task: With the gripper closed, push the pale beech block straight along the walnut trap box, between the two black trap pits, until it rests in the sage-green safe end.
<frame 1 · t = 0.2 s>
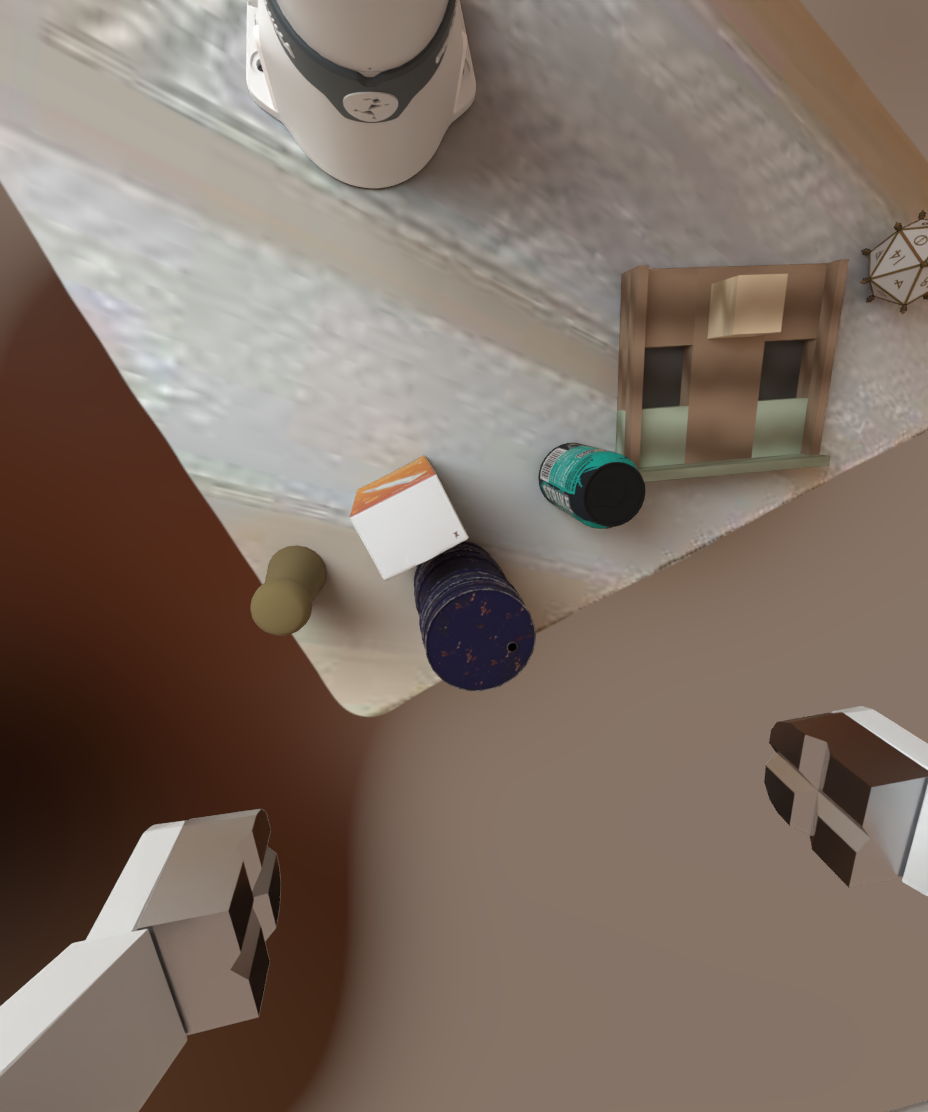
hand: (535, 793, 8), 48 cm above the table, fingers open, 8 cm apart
beverage can: (566, 474, 57), on the table
olive rounded lobed piece: (297, 572, 55), on the table
trap box: (714, 374, 56), on the table
game die: (874, 272, 55), on the table
beech block: (732, 310, 52), point 2 cm above the table, touching trap box
small box: (403, 497, 55), on the table
storage jar: (456, 580, 58), on the table
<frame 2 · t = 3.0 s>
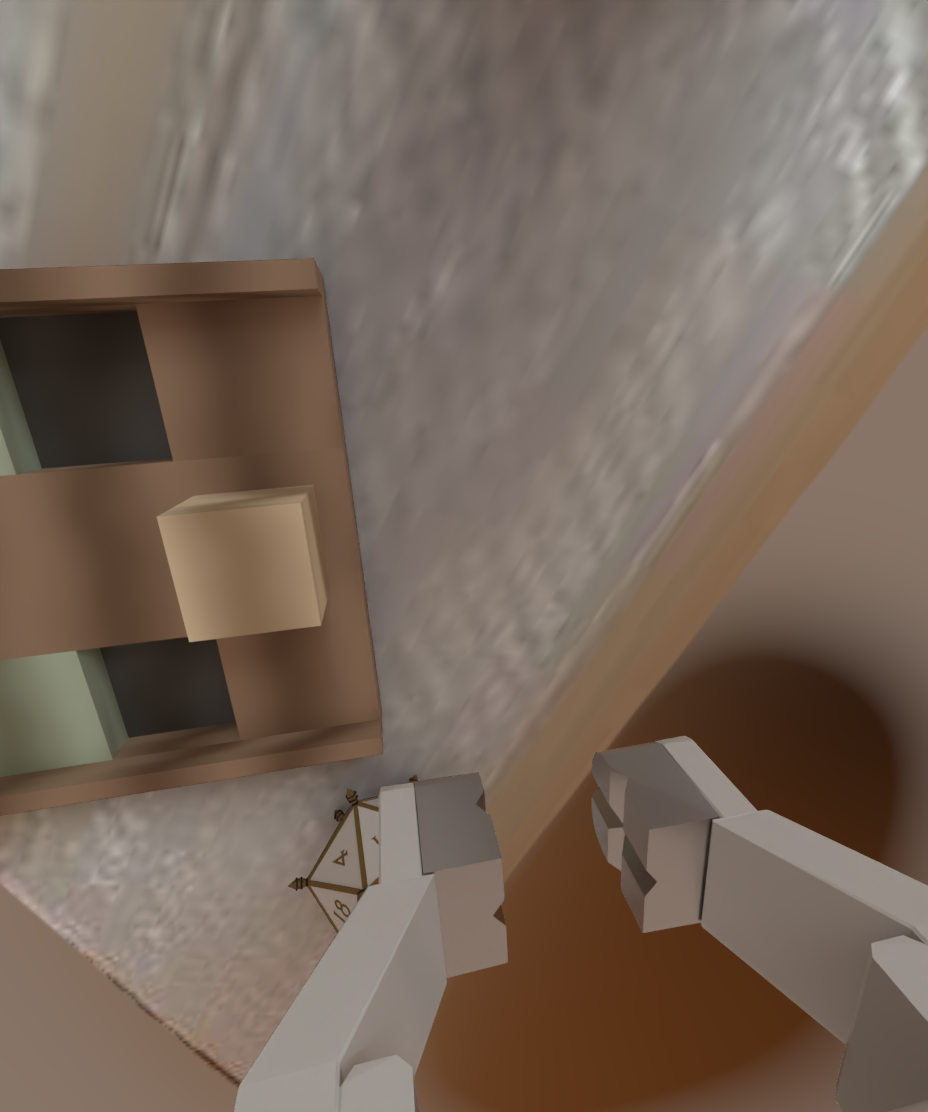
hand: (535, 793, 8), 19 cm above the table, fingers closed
trap box: (142, 546, 24), on the table
game die: (386, 807, 31), on the table
beech block: (265, 544, 23), point 2 cm above the table, touching trap box
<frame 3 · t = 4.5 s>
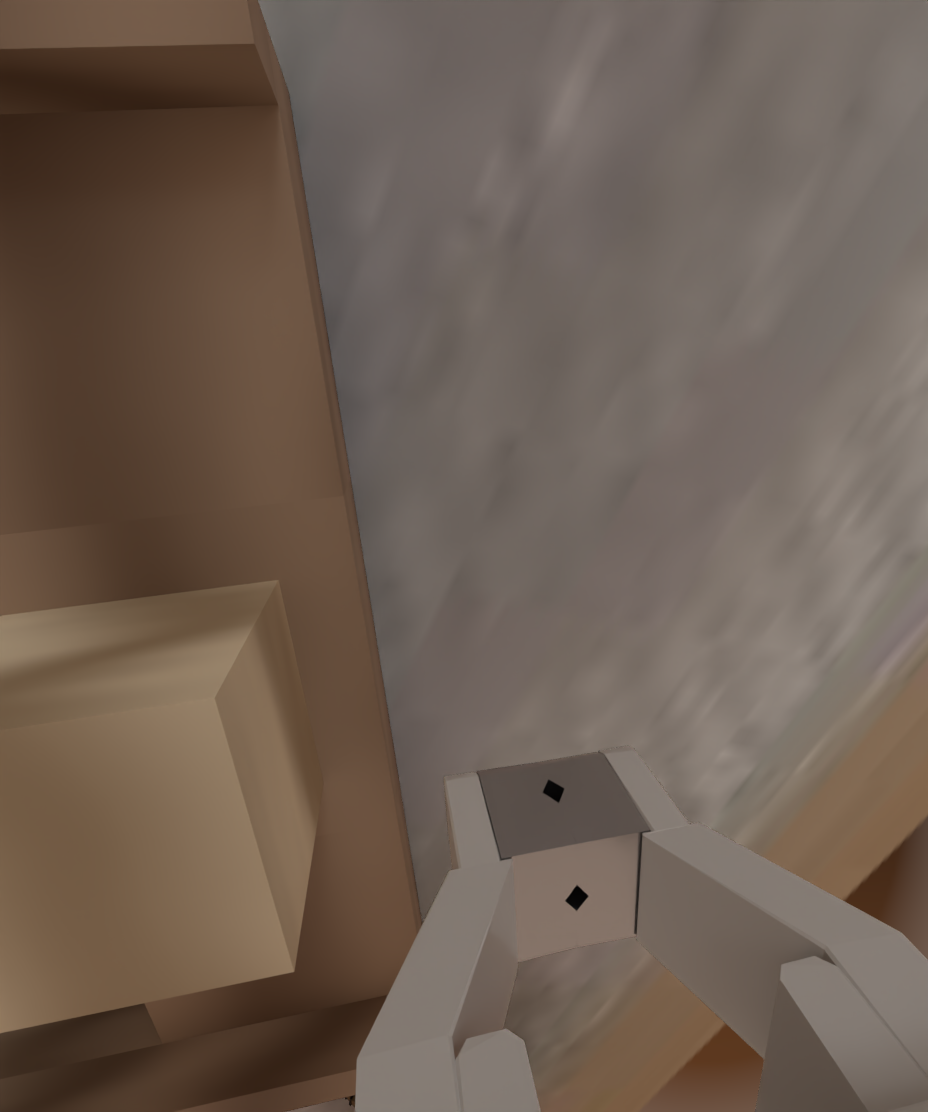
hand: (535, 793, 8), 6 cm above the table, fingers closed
beech block: (179, 707, 11), point 2 cm above the table, touching trap box
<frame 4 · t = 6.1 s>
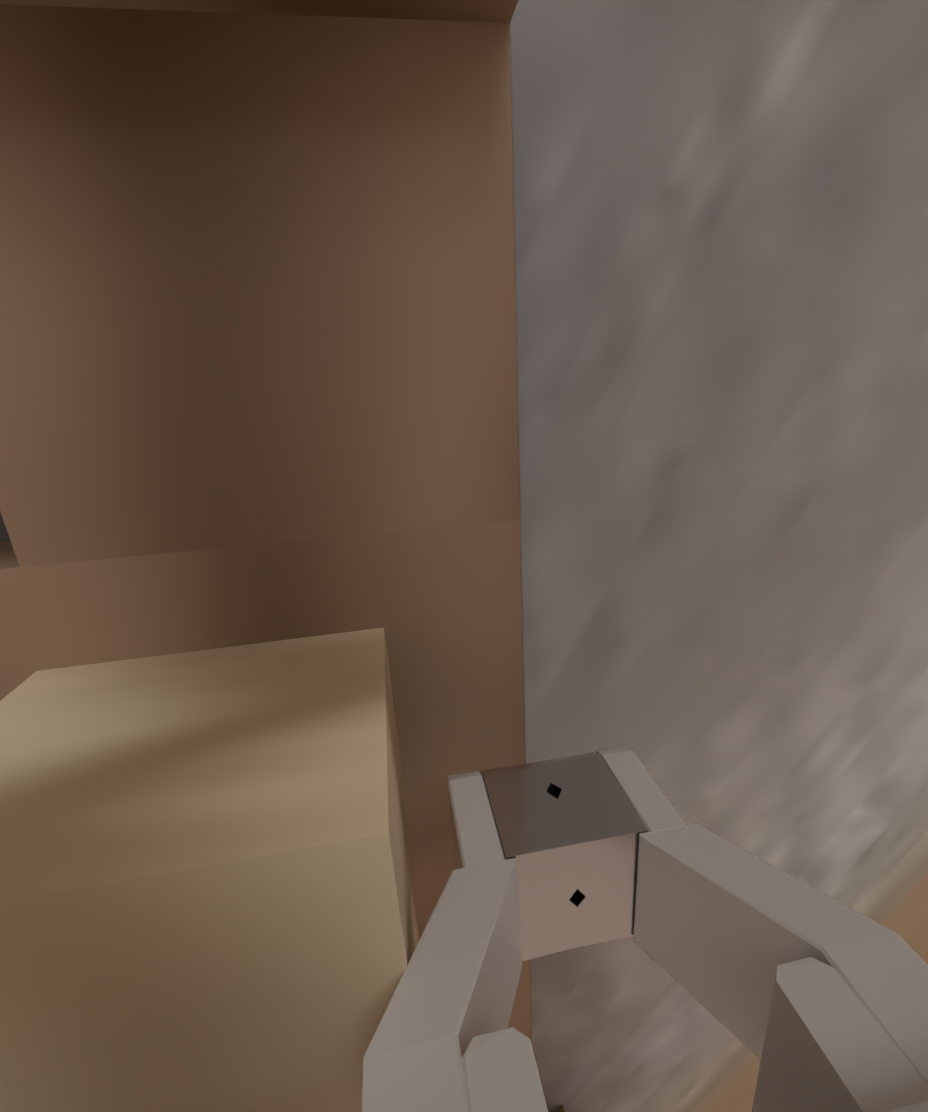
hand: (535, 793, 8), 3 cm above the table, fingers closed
beech block: (249, 781, 9), point 2 cm above the table, touching gripper, trap box
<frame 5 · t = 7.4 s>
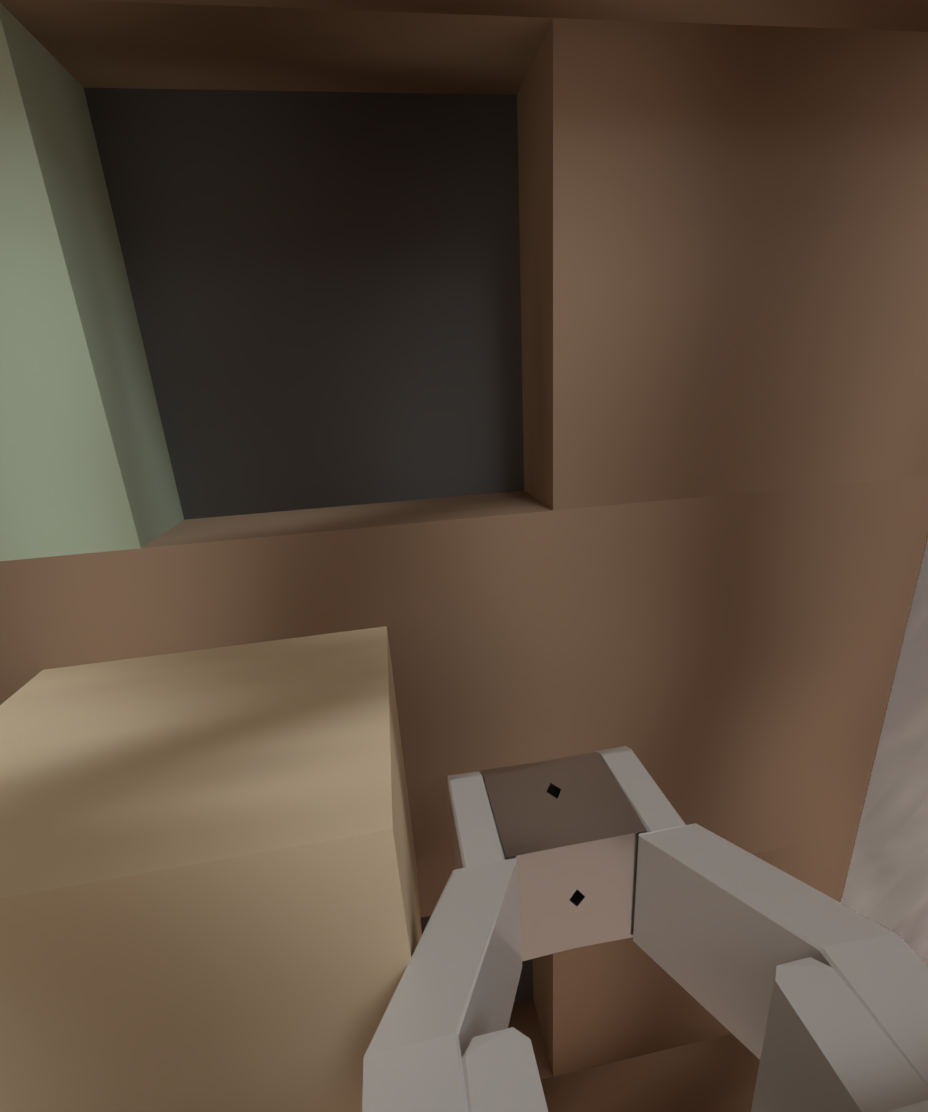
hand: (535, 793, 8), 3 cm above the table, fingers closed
trap box: (384, 688, 11), on the table
beech block: (253, 779, 9), point 2 cm above the table, touching gripper
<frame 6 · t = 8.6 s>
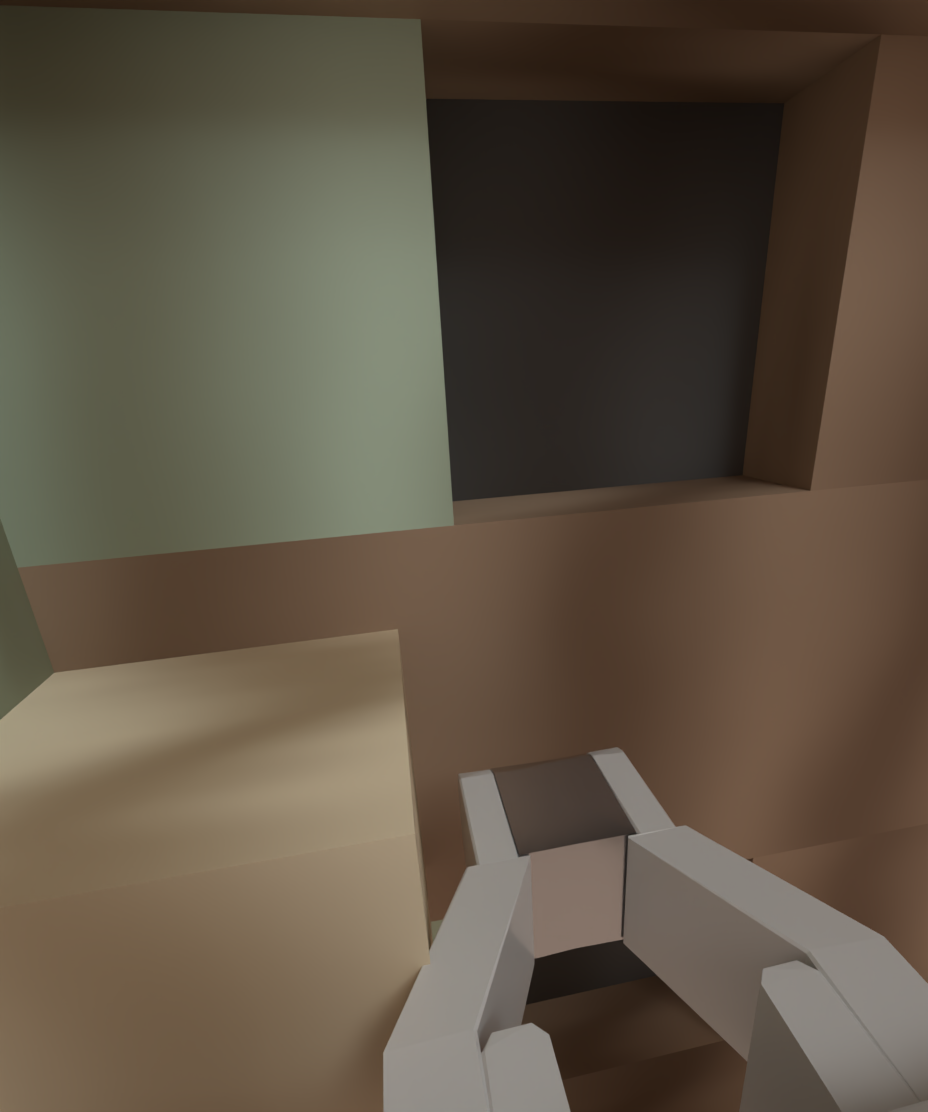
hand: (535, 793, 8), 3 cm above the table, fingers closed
trap box: (588, 665, 11), on the table
beech block: (263, 782, 9), point 2 cm above the table, touching gripper, trap box
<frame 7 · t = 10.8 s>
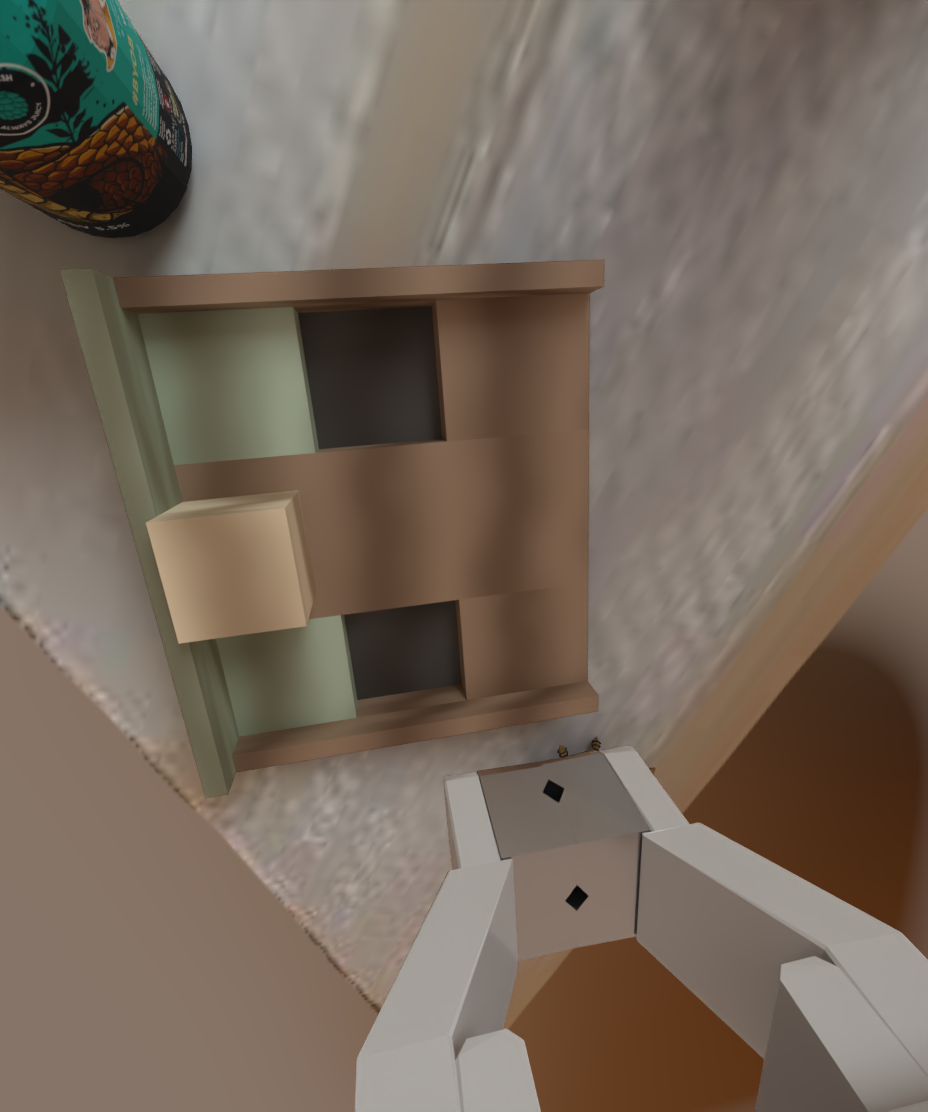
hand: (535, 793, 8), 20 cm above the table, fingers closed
beverage can: (105, 144, 21), on the table
trap box: (390, 521, 27), on the table
beech block: (252, 548, 24), point 2 cm above the table, touching trap box
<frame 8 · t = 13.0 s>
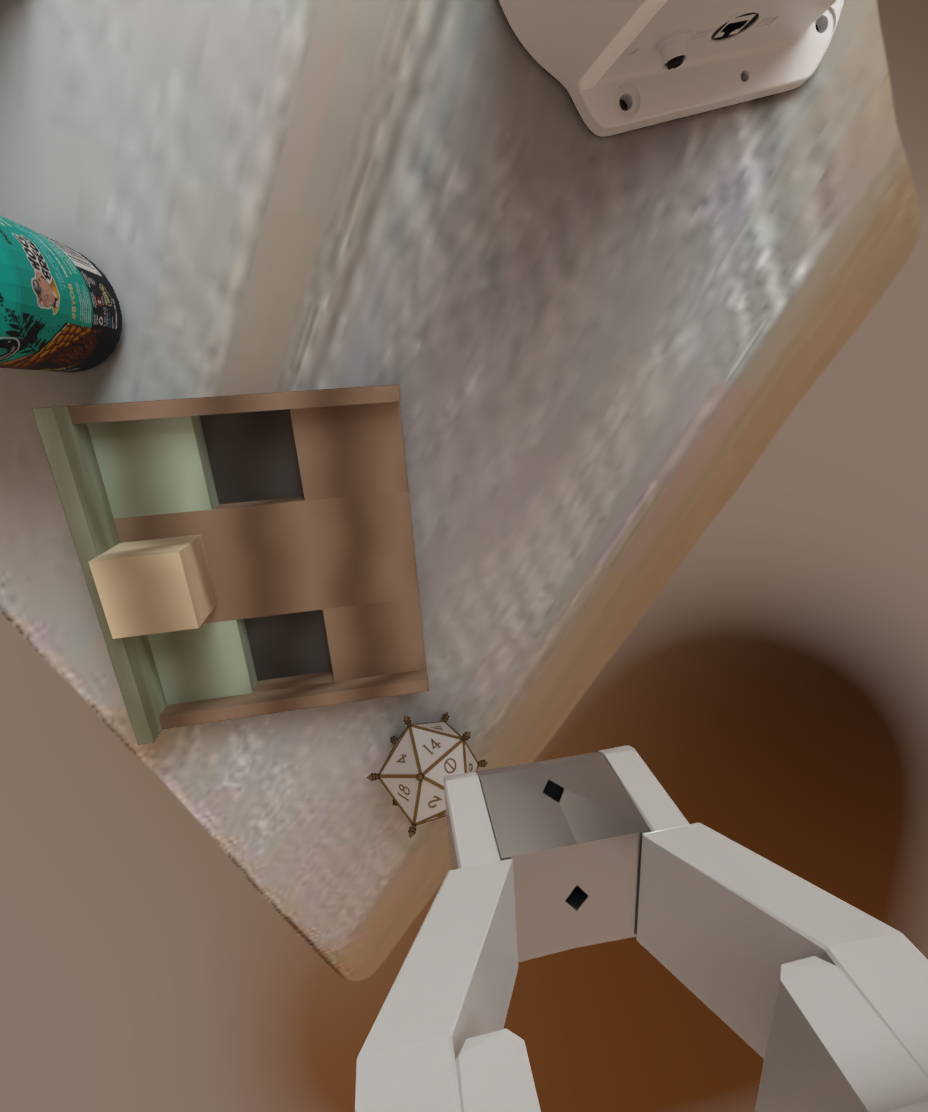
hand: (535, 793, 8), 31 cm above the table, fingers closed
beverage can: (65, 311, 31), on the table
trap box: (275, 553, 37), on the table
game die: (425, 736, 44), on the table
beech block: (170, 574, 35), point 2 cm above the table, touching trap box
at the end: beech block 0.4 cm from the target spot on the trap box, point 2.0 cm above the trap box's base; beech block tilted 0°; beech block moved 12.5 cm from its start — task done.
